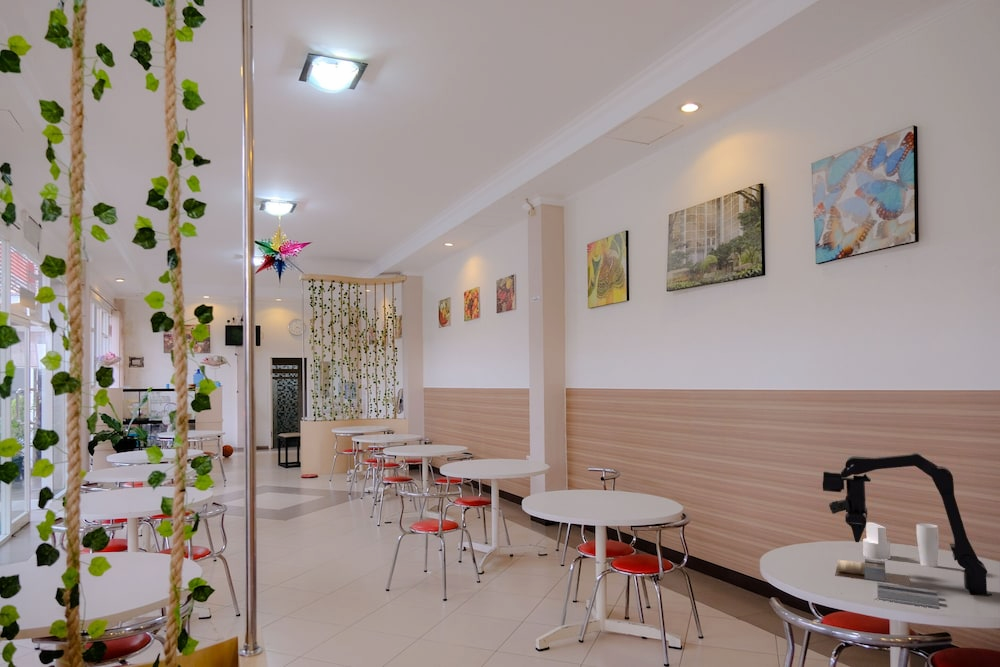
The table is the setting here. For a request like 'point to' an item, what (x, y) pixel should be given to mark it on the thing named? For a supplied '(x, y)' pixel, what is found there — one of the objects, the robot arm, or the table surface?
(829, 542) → the table surface
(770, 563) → the table surface
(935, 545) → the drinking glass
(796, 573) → the table surface
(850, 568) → the wooden axle
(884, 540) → the white stepped block
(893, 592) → the v block
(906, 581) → the brown board with blocks
